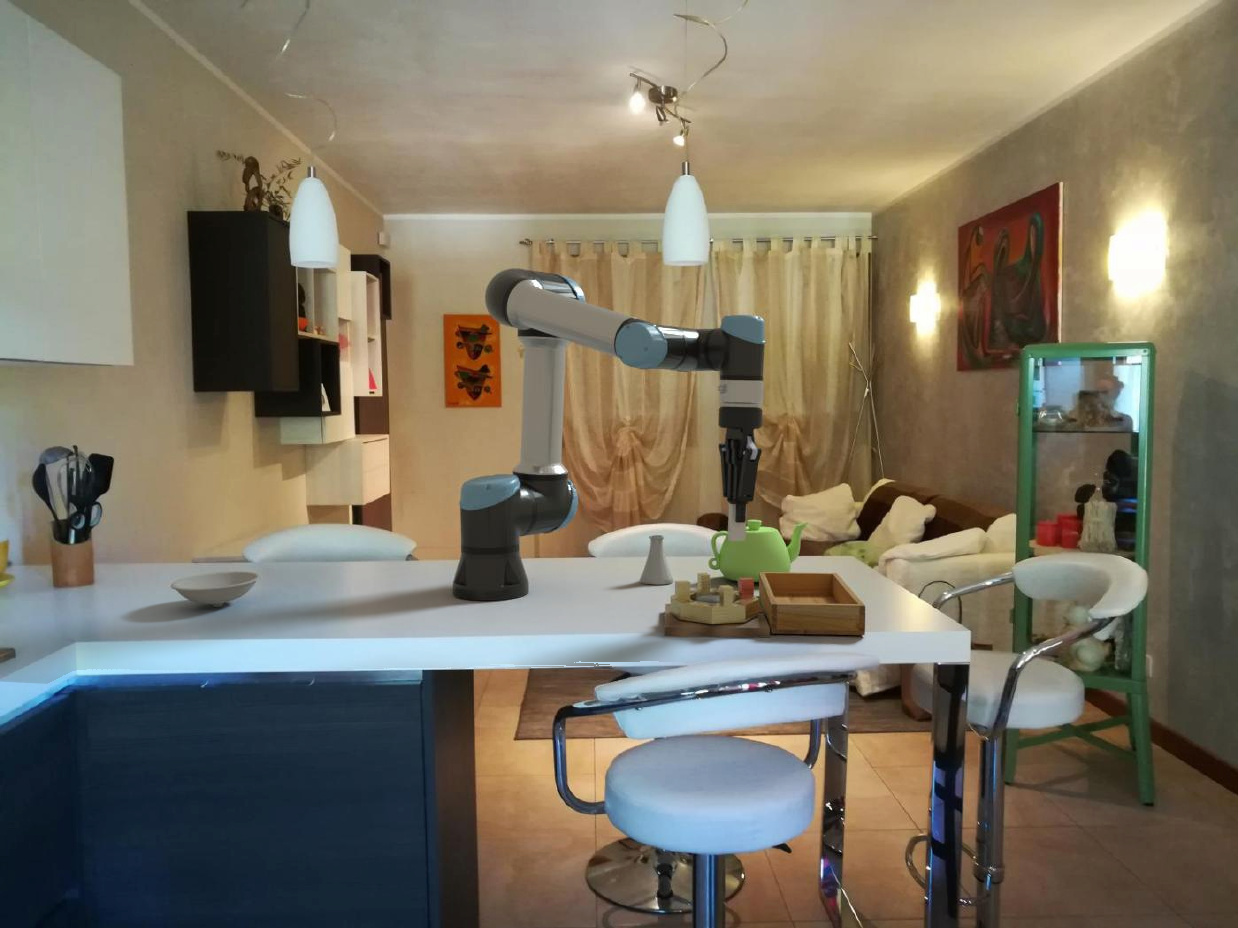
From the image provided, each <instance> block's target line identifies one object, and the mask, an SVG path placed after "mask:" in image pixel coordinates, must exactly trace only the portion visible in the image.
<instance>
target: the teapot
mask: <svg viewBox="0 0 1238 928" xmlns="http://www.w3.org/2000/svg"><path fill="white" fill-rule="evenodd" d="M762 524H763V523H762V520H759V519H748V520H746V525H747V526H746V537H745V541H730V540H728V530H720V531H718V532H715V534H713V535H712V537H711V541H710V545H711V549H712V552H713V555H714V557H711V558H710V559H709V560H708V567H709V569H711V570H714V571H717V570H719V571H720V572H721V575H723V577H724V578H726V579H727V580H730V581H735V582H736V585H738V580H739V578H749V577H751V578H753V579H754V583H759V572H791V569H792V566H791V565H792V563H793V562H795V561H796V560H797V559H798V557H799V554H800V550H801V537H802V533H803V530H804V529H805V528H806V527H807V525H809V524H811V522H810V521H806V522H802V523H799V524H797V525H796V526H795V527H794V529H793V532H792V537H791V540H790V543H789V545H786V543H785V541H784V539H783V537H782V535H781V533H780V531H779V530H778V529H776V528H774V527H771V526H770V527H769V526H761V525H762ZM723 536H725V538H724V540H723V542H722V544H721V547H720V549H719V551H718V548H717V539H718V538H719V537H723ZM714 561H715V562H716V564H715V565H714V564H713V562H714Z"/></svg>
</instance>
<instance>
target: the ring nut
mask: <svg viewBox="0 0 1238 928" xmlns="http://www.w3.org/2000/svg"><path fill="white" fill-rule="evenodd" d="M737 582H738V584H737V585H738V590H734V587H733V586H731V585H730V584H725V585H719V586H718V587H719V588H711V574H709V573H707V572H697V589H691V581H690V580H675V581H674V594H672V595H670V604H671V613H673V614H674V615H675V616H676V617H678V618H679V619H680V620H686V621H693V622H700V623H708V624H722V623H739V622H746V621H748V620H750V619H752V618H754V617H756V616H758V615H759V605H760V597H759V598H758V597H757V596H755V582H754V579H753V578H751V577H749V578H739V580H738V581H737ZM709 595H716V596H719V603H714V604H712V603H704V602H697V598H698V597H701V596H709Z"/></svg>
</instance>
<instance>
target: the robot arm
mask: <svg viewBox="0 0 1238 928" xmlns="http://www.w3.org/2000/svg"><path fill="white" fill-rule="evenodd" d="M484 294H485V295H484V303H485V305H486V309H487V312H488V313H489V315H490V316H491V317H492V319H493V320H495V321H496V322H498V324H501V325H503V326H506V327H511V328H515V329H517V339H518V341H519V343H521V344H522V346H523V347H524V349H523V350H524V351H523V352H524V353H523V376H522V378H523V380H522V383H523V384H522V403H521V404H522V410H521V429H520V430H521V431H520V432H521V433H520V460H519V463H517V464H516V465H515V466H514V467H513V468H512V474H510V473H509V474H508V473H499V474H492V475H483V476H478V477H474V478H471V479H468V480H466V481H465V482H463V484H462V485H461V489H460V499H459V511H460V512H459V513H460V515H459V516H460V557H459V562H458V565H457V568H456V571H455V574H454V578H453V581H452V596H453V597H456V598H459V599H463V600H470V601H499V600H500V601H501V600H511V599H514V598H515V599H516V598H520V597H523V596H525V595H528V594H529V587H530V586H529V583H530V582H529V577H528V575H527V572H526V570H525V567H524V563H523V560H522V556H521V554H520V553H521V552H520V547H521V546H520V543H521V542H520V537H521V538H522V537H526V536H532V535H533V536H534V535H541V534H551V533H553V532H555V531H559V530H562V529H564V528H566V527H567V526H568V525H569V524H570V523H571V522H572V521H573V520H574V518H575V515H576V514H577V510H578V506H579V496H578V492H577V489H575V488H574V487H575V485H574V483H573V482H572V480H570V479H569V478H568V476H569V471H568V469H567V468H566V467H565V466H564V464H562V449H563V448H562V447H563V445H562V444H563V431H564V430H563V424H564V403H565V401H564V400H565V399H564V398H565V381H566V380H565V379H566V378H565V377H566V375H565V374H566V354H567V349H568V347H569V346H570V345H571V344H572V343H573V344H577V345H580V346H584V347H585V348H589V349H592V350H594V351H598V352H601V353H603V354H607V355H609V356H612V357H614V358H617V359H619V360H620V361H621V362H622V364H624V365H625V366H627V367H629V368H630V367H631V368H634V369H638V370H664V371H665V370H667V371H668V370H670V371H674V372H684V373H689V372H712V371H713V372H719V385H718V387H717V391H718V392H719V401H718V402H719V403H720V404H722V406H720V407H719V408H718V426H719V428H722V429H726V433H725V436H724V443H723V442H722V443H719V444H718V450H719V456H720V467H721V468H720V469H721V484H722V495H723V496H722V497H723V498H726V501H727V502H728V515H727V516H728V521H727V523H728V525H727V532H728V540H730V541H745V537H746V527H747V505H748V504H749V503H750V502H753V501H754V498H755V491H756V483H757V476H758V468H759V463H760V458H761V456H762V452H763V450H762V448H761V447H756V445H755V442H756V441H755V440H756V438H755V433H754V432H755V431H754V430H757V429H758V430H759V429H761V428H762V427H763V411H764V410H763V409H762V407H760V405H763V403H764V385H765V384H764V383H765V382H764V366H765V365H764V364H765V363H764V362H765V347H766V346H765V345H766V337H765V332H766V331H765V330H766V329H765V328H766V327H765V326H766V325H765V321H764V319H763V318H762V317H761V316H759V315H753V314H752V315H751V314H749V315H748V314H729V315H725V316H723V317H722V318H721V323H720V324H721V325H720V327H717V328H690V327H689V328H688V327H682V326H680V327H679V326H673V325H664V324H663V325H662V324H657V323H653V322H650V321H647V320H643V319H641V318H636V317H634V316H630V315H628V314H624V313H621V312H618V311H614V310H612V309H611V310H610V309H608V308H605V307H601V306H598V305H596V304H591V303H588V302H587V301H586V296H585V294H584V292H583V290H582V288H581V287H580V286H579V285H578V283H577V282H576V281H575V280H574V279H572V278H569V277H567V276H563V275H562V274H559V273H554V272H553V273H551V272H550V273H549V272H544V271H543V272H542V271H536V270H530V269H525V268H517V267H515V268H507V269H504V270H501V271H499V272H498V273H496V274H495V275H494V276H493V277H492V278H491V280H490V281H489V283H488V285H487V286H486V289H485V293H484Z"/></svg>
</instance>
